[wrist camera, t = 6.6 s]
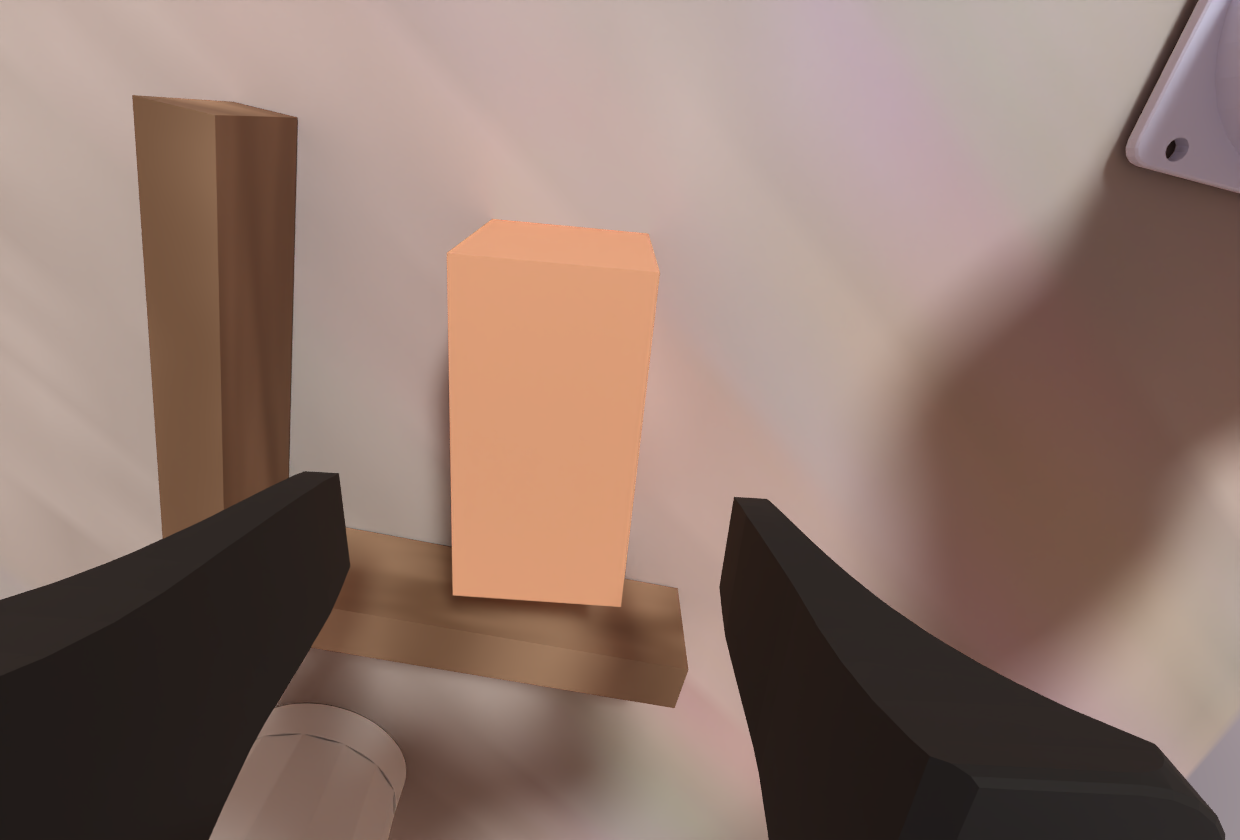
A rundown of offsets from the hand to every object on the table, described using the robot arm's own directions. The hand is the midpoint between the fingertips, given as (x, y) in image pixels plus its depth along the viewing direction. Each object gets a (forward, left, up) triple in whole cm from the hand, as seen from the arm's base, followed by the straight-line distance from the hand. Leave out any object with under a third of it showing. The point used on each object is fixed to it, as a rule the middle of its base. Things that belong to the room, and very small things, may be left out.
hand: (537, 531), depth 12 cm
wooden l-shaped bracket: (+2, +1, -7) cm, 8 cm away
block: (0, 0, -7) cm, 7 cm away
